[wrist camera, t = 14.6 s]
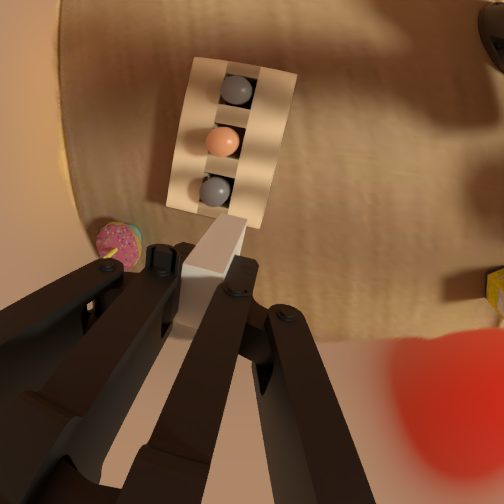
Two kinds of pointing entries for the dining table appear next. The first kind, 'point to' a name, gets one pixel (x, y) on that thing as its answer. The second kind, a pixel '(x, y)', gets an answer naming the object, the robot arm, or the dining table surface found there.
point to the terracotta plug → (222, 141)
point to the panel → (217, 113)
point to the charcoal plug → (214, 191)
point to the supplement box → (495, 289)
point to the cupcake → (120, 243)
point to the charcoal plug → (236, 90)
